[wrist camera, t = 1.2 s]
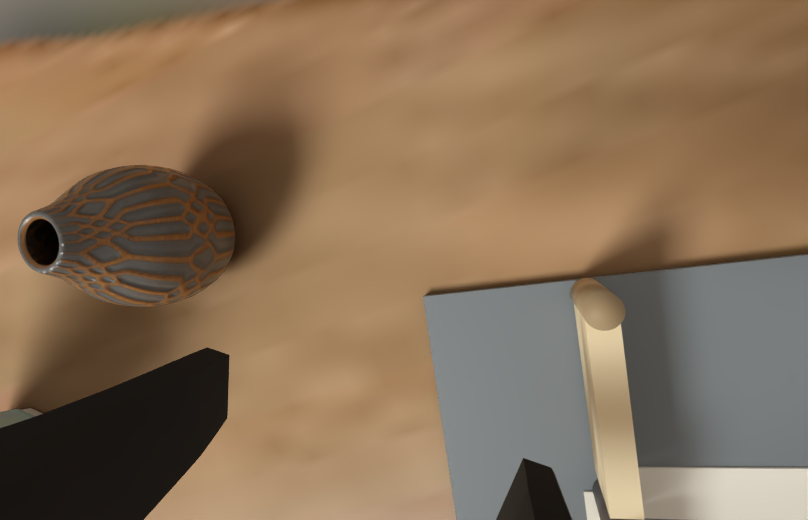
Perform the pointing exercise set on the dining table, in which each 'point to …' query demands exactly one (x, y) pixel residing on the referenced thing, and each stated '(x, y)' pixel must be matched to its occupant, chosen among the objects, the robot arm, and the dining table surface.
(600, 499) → the fence fixed
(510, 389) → the card
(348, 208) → the dining table surface
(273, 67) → the dining table surface
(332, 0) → the dining table surface
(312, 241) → the dining table surface
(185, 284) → the vase
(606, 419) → the fence panel
